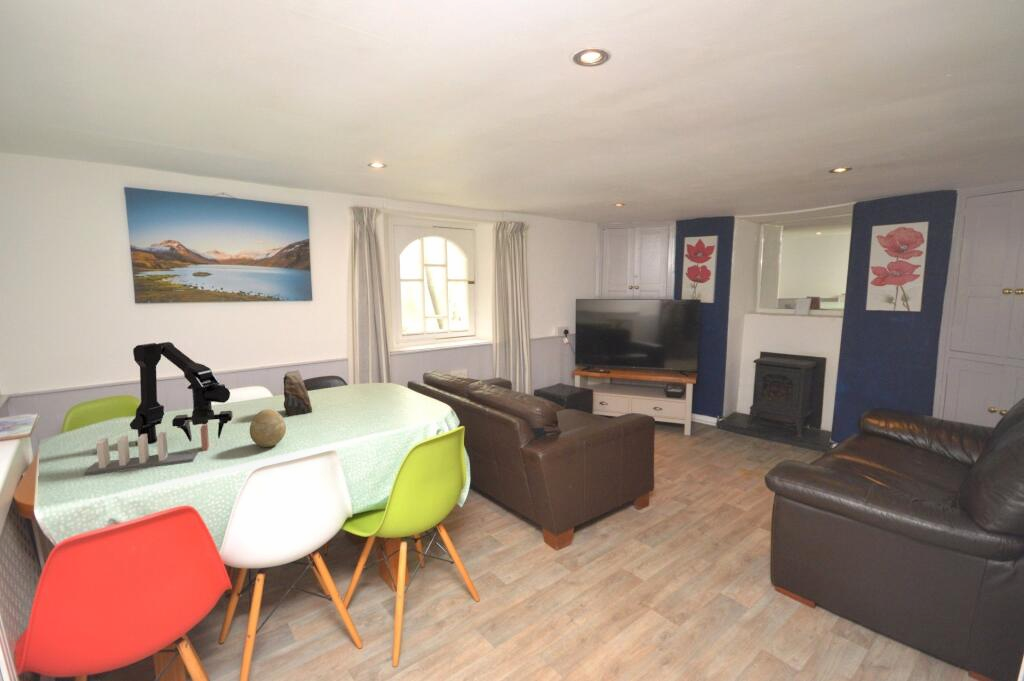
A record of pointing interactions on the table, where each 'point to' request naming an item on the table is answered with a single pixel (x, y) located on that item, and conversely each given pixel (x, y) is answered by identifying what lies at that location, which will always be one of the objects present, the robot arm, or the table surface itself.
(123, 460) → the domino
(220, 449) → the table surface
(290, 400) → the tapered brown rock
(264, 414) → the fossilized egg
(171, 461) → the board
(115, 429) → the table surface
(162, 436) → the domino
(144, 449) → the domino
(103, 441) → the domino
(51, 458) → the table surface
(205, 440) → the brick domino
